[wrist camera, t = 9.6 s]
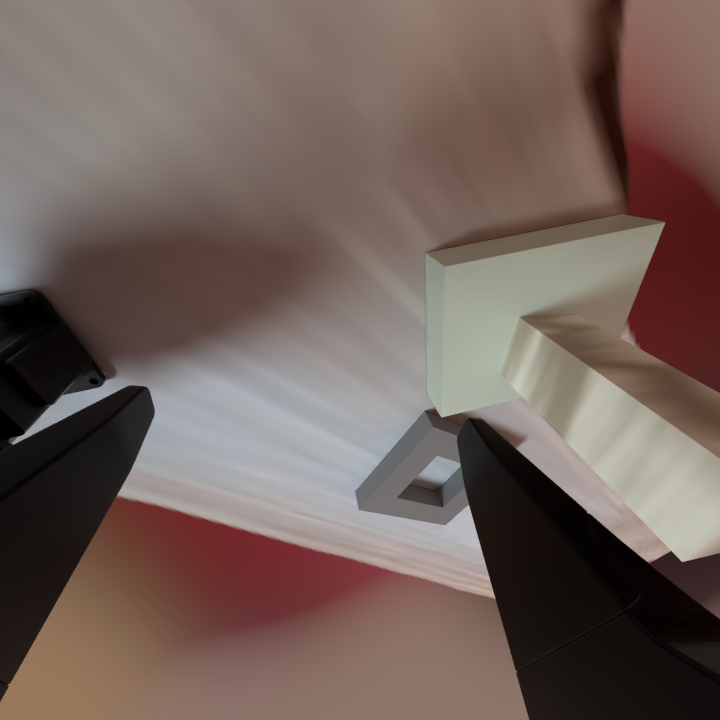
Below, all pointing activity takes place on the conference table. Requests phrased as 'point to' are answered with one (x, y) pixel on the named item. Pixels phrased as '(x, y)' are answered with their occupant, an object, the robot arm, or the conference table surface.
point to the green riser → (524, 298)
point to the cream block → (627, 423)
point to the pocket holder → (405, 463)
